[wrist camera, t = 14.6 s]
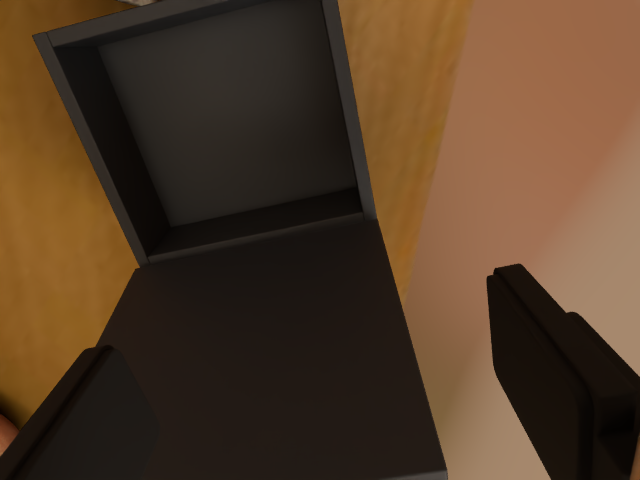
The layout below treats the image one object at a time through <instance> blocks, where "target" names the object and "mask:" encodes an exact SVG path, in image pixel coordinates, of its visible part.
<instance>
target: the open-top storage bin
mask: <svg viewBox="0 0 640 480" xmlns="http://www.w3.org/2000/svg"><path fill="white" fill-rule="evenodd" d="M32 37H33V39H34V41H35V43H36V45H37V47H38V50H39V52H40V54H41V56H42V58H43V60H44V62H45V65H46V67H47V69H48V71H49V73H50V75H51V77H52V80H53V82H54V84H55V86H56V88H57V90H58V92H59V95H60V97H61V99H62V101H63V103H64V105H65V108H66V110H67V112H68V114H69V116H70V118H71V120H72V123H73V125H74V127H75V129H76V131H77V133H78V135H79V138H80V140H81V142H82V144H83V146H84V148H85V150H86V153H87V155H88V157H89V159H90V161H91V163H92V165H93V168H94V170H95V172H96V174H97V176H98V178H99V181H100V183H101V185H102V187H103V189H104V191H105V193H106V196H107V198H108V200H109V202H110V204H111V206H112V208H113V211H114V213H115V215H116V217H117V219H118V221H119V223H120V226H121V228H122V230H123V232H124V234H125V236H126V238H127V241H128V243H129V245H130V247H131V249H132V251H133V254H134V256H135V258H136V260H137V262H138V264H139V266H140V268H142V267H147V266H151V265H156V264H161V263H166V262H171V261H176V260H180V259H185V258H190V257H195V256H200V255H205V254H210V253H214V252H219V251H224V250H229V249H234V248H239V247H244V246H248V245H253V244H258V243H263V242H268V241H273V240H277V239H282V238H287V237H292V236H297V235H302V234H307V233H311V232H316V231H321V230H326V229H331V228H336V227H341V226H345V225H350V224H355V223H360V222H365V221H370V220H375V219H377V216H376V210H375V205H374V199H373V194H372V188H371V183H370V177H369V172H368V166H367V161H366V155H365V150H364V144H363V139H362V133H361V128H360V122H359V117H358V112H357V106H356V101H355V95H354V90H353V84H352V79H351V73H350V68H349V62H348V57H347V51H346V46H345V40H344V35H343V29H342V24H341V18H340V13H339V7H338V2H337V0H161V1H157V2H154V3H150V4H146V5H142V6H139V7H135V8H131V9H128V10H124V11H120V12H117V13H113V14H109V15H105V16H102V17H98V18H94V19H91V20H87V21H83V22H80V23H76V24H72V25H68V26H65V27H61V28H57V29H54V30H50V31H47V32H42V33H38V34H35V35H32Z"/></svg>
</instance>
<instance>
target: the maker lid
mask: <svg viewBox="0 0 640 480" xmlns="http://www.w3.org/2000/svg"><path fill="white" fill-rule="evenodd" d="M103 345H111V346H113V347H114V348H115V349H118V350H120V352H121V353H122V355H123V356H124V358H125V360H126V362H127V364H128V366H129V368H130V369H131V371H132V373H133V375H134V377H135V379H136V380H137V382H138V384H139V386H140V388H141V390H142V391H143V393H144V395H145V397H146V399H147V401H148V403H149V404H150V406H151V408H152V410H153V412H154V414H155V415H156V417H157V419H158V421H159V424H160V435H159V438H158V441H157V443H156V446H155V448H154V450H153V453H152V455H151V458H150V460H149V463H148V465H147V467H146V470H145V472H144V475H143V477H142V479H141V480H448V473H447V467H446V463H445V460H444V456H443V453H442V449H441V445H440V442H439V438H438V435H437V431H436V428H435V424H434V420H433V417H432V413H431V409H430V406H429V402H428V399H427V395H426V392H425V388H424V384H423V381H422V377H421V374H420V370H419V367H418V363H417V360H416V356H415V352H414V348H413V345H412V341H411V338H410V334H409V330H408V327H407V323H406V320H405V316H404V312H403V309H402V305H401V302H400V298H399V294H398V291H397V287H396V284H395V280H394V276H393V273H392V269H391V266H390V262H389V259H388V255H387V251H386V248H385V244H384V241H383V237H382V233H381V230H380V226H379V223H378V220H377V219H375V220H370V221H365V222H360V223H355V224H350V225H345V226H341V227H336V228H331V229H326V230H321V231H316V232H311V233H307V234H302V235H297V236H292V237H287V238H282V239H277V240H273V241H268V242H263V243H258V244H253V245H248V246H244V247H239V248H234V249H229V250H224V251H219V252H214V253H210V254H205V255H200V256H195V257H190V258H185V259H180V260H176V261H171V262H166V263H161V264H156V265H151V266H147V267H142V268H137V269H135V271H134V273H133V275H132V277H131V279H130V281H129V282H128V284H127V286H126V288H125V290H124V292H123V294H122V296H121V298H120V300H119V302H118V304H117V306H116V308H115V310H114V312H113V314H112V315H111V317H110V319H109V321H108V323H107V325H106V327H105V329H104V331H103V333H102V335H101V337H100V339H99V341H98V343H97V345H96V347H98V346H103Z"/></svg>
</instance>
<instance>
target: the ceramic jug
mask: <svg viewBox="0 0 640 480" xmlns="http://www.w3.org/2000/svg"><path fill="white" fill-rule="evenodd" d="M19 432H20V431H19V430H18V429H17V428H16V427H15V426H14V425H13V424H12V423H11V422H10V421H9V420H8V419H7V418H6V417H4V416H3V415H1V414H0V456H1V455H2V454H3V452H4V451H5V450H6V449H7V447H8V446H9V445H10V444H11V442H12V441H13V440H14V438H15V437H16V436H17V435H18V433H19Z"/></svg>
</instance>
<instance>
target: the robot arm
mask: <svg viewBox="0 0 640 480" xmlns="http://www.w3.org/2000/svg"><path fill="white" fill-rule="evenodd" d="M487 293H488V305H489V319H490V330H491V343H492V356H493V366H494V370H495V373H496V376H497V378H498V380H499V382H500V384H501V386H502V388H503V390H504V392H505V393H506V395H507V397H508V399H509V401H510V403H511V405H512V407H513V408H514V410H515V412H516V414H517V416H518V418H519V420H520V422H521V424H522V426H523V427H524V429H525V431H526V433H527V435H528V437H529V439H530V441H531V442H532V444H533V446H534V448H535V450H536V452H537V454H538V456H539V458H540V460H541V461H542V463H543V465H544V467H545V469H546V471H547V473H548V475H549V476H550V478H551V480H640V377H639V376H638V375H637V374H636V373H635V372H634V371H633V370H632V368H630V366H629V365H628V364H627V363H626V362H625V361H624V360H623V359H622V358H621V357H620V356H619V355H618V354H617V353H616V352H615V351H614V350H613V349H612V348H611V347H610V346H609V345H608V344H607V343H606V342H605V340H603V338H602V337H601V336H600V335H599V334H598V333H597V332H596V331H595V330H594V329H593V328H592V327H591V326H590V325H589V324H588V323H587V322H586V321H585V320H584V319H583V318H582V317H581V316H580V315H579V314H578V313H575V312H568V313H566V312H565V311H564V310H563V309H562V308H561V307H560V306H559V305H558V304H557V302H556V301H555V300H554V299H553V298H552V297H551V296H550V295H549V294H548V293H547V291H546V290H545V289H544V288H543V287H542V286H541V285H540V284H539V283H538V282H537V281H536V280H535V279H534V277H533V276H532V275H531V274H530V273H529V272H528V271H527V270H526V269H525V267H524V266H523V265H521V264H514V265H510V266H504V267H499V268H495V269H494V272H493V275H490V276H487ZM159 435H160V424H159V421H158V419H157V417H156V415H155V414H154V412H153V410H152V408H151V406H150V404H149V403H148V401H147V399H146V397H145V395H144V393H143V391H142V390H141V388H140V386H139V384H138V382H137V380H136V379H135V377H134V375H133V373H132V371H131V369H130V368H129V366H128V364H127V362H126V360H125V358H124V356H123V355H122V353H121V352H120V350H118V349H115V348H114V347H113V346H111V345H103V346H98V347H93V348H88V349H85V350H84V351H83V352H82V353H81V354H80V355H79V357H78V358H77V359H76V361H75V362H74V363H73V364H72V366H71V367H70V368H69V370H68V371H67V372H66V373H65V375H64V376H63V377H62V378H61V380H60V381H59V382H58V384H57V385H56V386H55V387H54V389H53V390H52V391H51V392H50V394H49V395H48V396H47V398H46V399H45V400H44V401H43V403H42V404H41V405H40V407H39V408H38V409H37V410H36V412H35V413H34V414H33V415H32V417H31V418H30V419H29V421H28V422H27V423H26V424H25V426H24V427H23V428H22V429H21V431H20V432H19V433H18V435H17V436H16V437H15V438H14V440H13V441H12V442H11V444H10V445H9V446H8V447H7V449H6V450H5V451H4V452H3V454H2V455H1V456H0V480H141V479H142V477H143V475H144V472H145V470H146V467H147V465H148V463H149V460H150V458H151V455H152V453H153V450H154V448H155V446H156V443H157V441H158V438H159Z"/></svg>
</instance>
